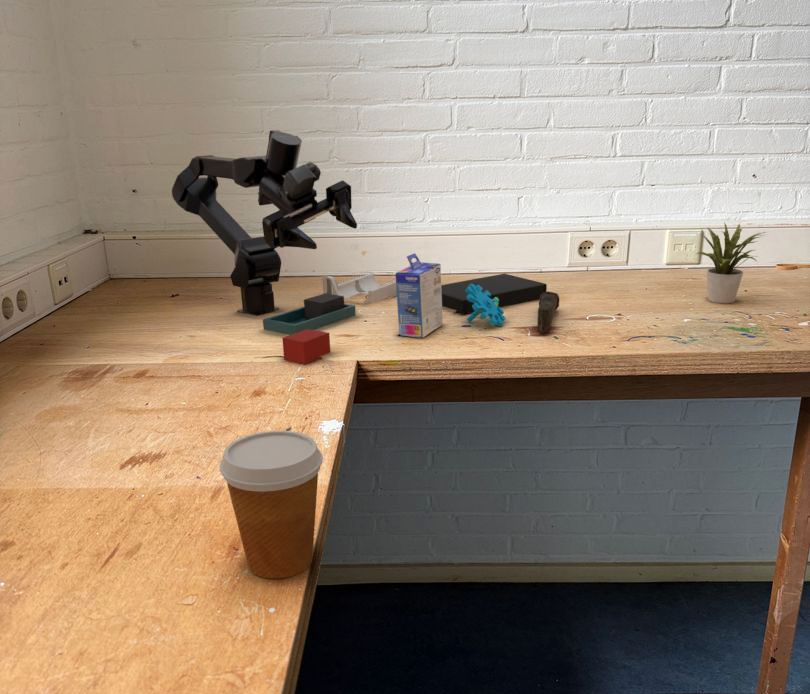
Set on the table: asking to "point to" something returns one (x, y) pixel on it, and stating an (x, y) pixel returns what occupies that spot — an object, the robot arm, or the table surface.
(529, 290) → the external hard drive
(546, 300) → the hand tool
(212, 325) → the table surface
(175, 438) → the table surface
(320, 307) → the dark grey block
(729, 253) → the house plant
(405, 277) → the ink cartridge box
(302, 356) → the red rectangular block
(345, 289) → the skate ramp
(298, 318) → the tray
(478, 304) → the blue coral piece
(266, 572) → the disposable coffee cup
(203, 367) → the table surface
